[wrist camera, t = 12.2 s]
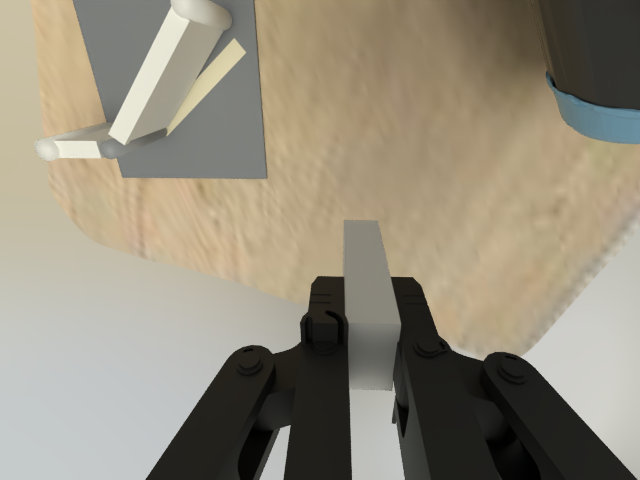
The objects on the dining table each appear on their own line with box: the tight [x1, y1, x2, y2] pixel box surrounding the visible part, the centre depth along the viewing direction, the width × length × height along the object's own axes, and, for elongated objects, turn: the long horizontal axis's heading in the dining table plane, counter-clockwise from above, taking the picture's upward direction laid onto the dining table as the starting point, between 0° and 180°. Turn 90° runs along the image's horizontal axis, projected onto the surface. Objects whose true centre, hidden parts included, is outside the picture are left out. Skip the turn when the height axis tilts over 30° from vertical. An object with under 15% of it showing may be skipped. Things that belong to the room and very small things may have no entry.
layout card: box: [73, 0, 267, 179], centre depth 38 cm, size 19×24×1 cm
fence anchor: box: [34, 122, 168, 161], centre depth 36 cm, size 8×2×11 cm, turn 90°
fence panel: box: [108, 0, 232, 145], centre depth 33 cm, size 14×2×11 cm, turn 141°
